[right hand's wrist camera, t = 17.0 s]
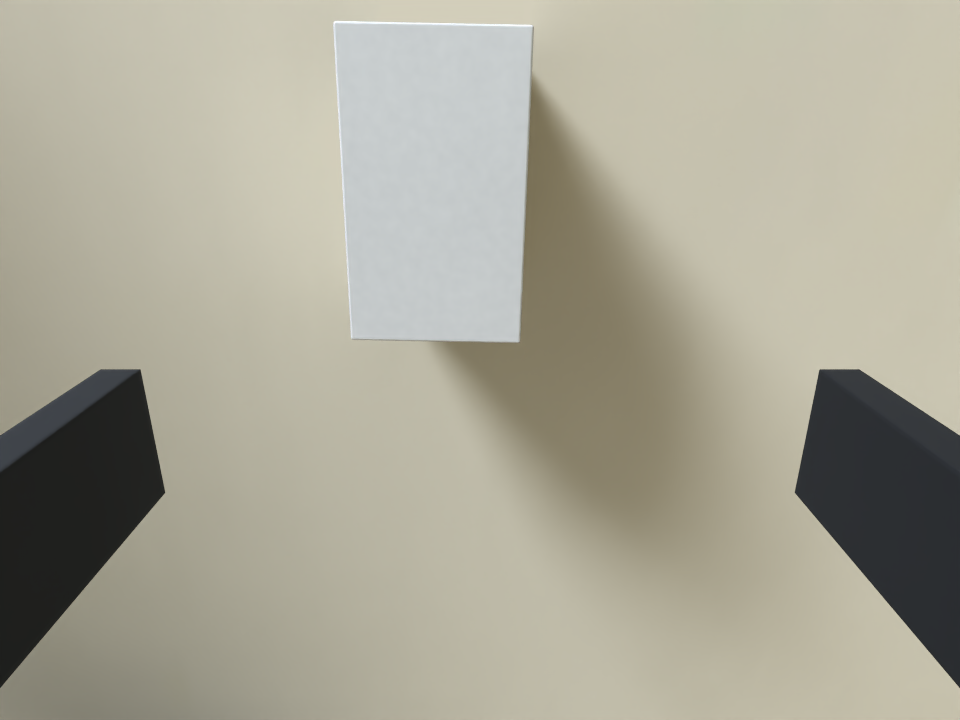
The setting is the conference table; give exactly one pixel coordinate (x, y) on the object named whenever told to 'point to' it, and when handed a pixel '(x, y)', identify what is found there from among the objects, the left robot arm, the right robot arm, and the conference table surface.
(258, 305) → the conference table surface
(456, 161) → the block
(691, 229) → the conference table surface
